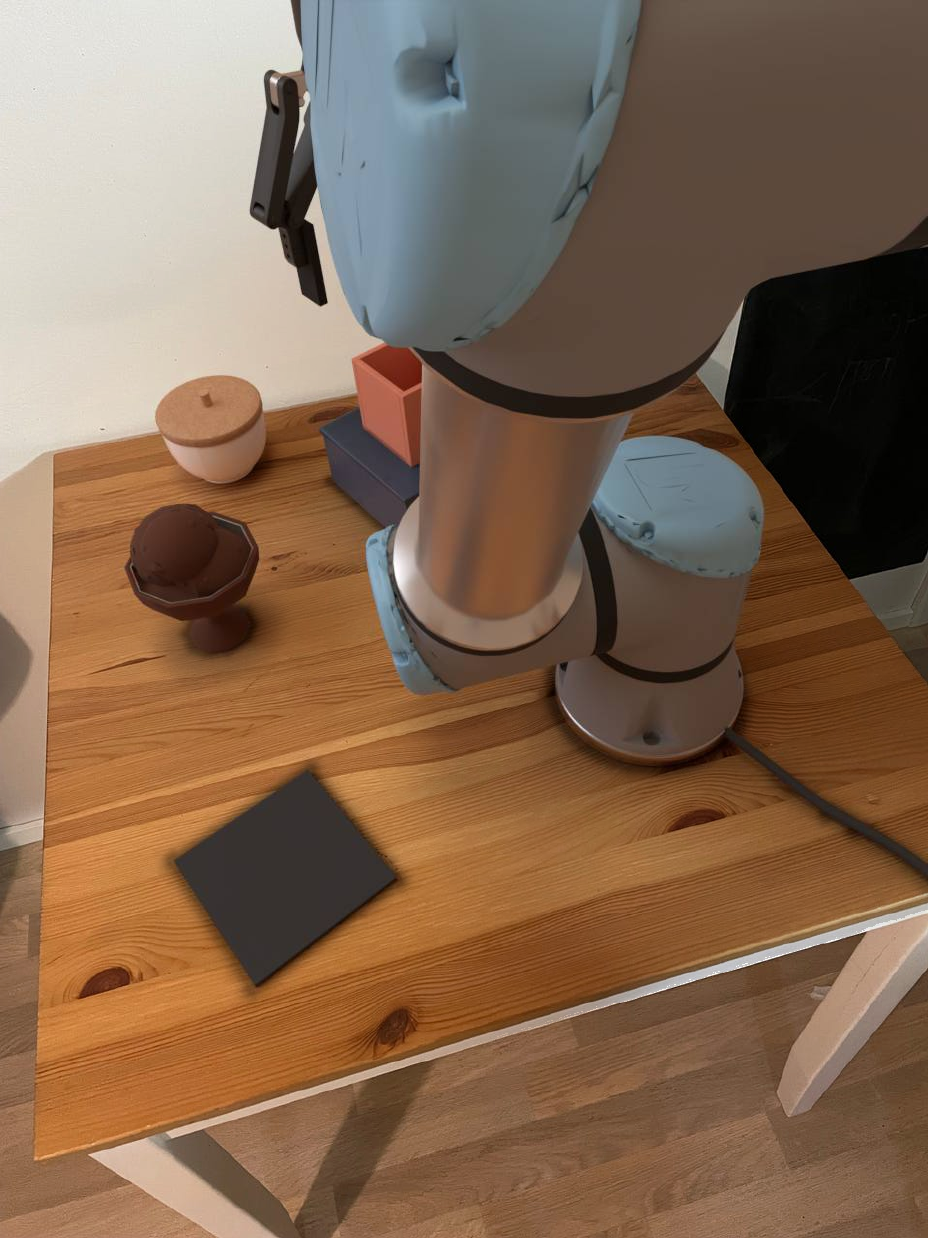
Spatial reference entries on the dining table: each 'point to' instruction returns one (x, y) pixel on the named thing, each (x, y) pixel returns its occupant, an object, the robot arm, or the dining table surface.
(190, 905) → the dining table surface
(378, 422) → the tub
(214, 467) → the trinket box
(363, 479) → the tin
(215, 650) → the ice cream bowl
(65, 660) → the dining table surface
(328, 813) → the mat
